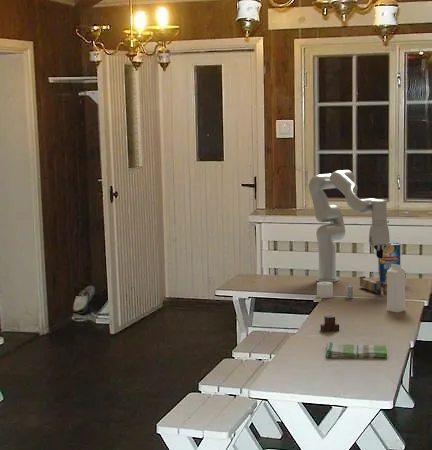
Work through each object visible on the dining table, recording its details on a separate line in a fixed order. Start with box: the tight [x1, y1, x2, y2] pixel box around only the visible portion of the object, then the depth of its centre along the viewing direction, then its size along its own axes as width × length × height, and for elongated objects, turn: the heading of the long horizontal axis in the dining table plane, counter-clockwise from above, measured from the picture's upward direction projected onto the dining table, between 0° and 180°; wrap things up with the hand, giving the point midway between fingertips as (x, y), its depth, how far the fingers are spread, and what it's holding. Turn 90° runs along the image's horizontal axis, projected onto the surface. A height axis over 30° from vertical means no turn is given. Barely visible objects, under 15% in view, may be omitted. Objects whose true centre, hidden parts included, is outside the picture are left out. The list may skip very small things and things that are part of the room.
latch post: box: [345, 285, 354, 300], centre depth 425 cm, size 2×2×6 cm
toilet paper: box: [316, 281, 334, 299], centre depth 433 cm, size 8×11×7 cm
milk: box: [386, 264, 406, 313], centre depth 393 cm, size 6×6×22 cm
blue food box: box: [377, 242, 401, 286], centre depth 459 cm, size 7×11×22 cm, turn 87°
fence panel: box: [382, 283, 387, 295], centre depth 436 cm, size 3×10×6 cm, turn 107°
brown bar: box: [358, 275, 376, 293], centre depth 443 cm, size 17×3×5 cm, turn 17°
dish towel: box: [325, 341, 388, 360], centre depth 324 cm, size 17×23×4 cm
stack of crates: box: [320, 314, 340, 333], centre depth 359 cm, size 15×15×7 cm
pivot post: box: [375, 280, 382, 295], centre depth 433 cm, size 2×2×6 cm
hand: (379, 257), depth 443 cm, fingers closed
